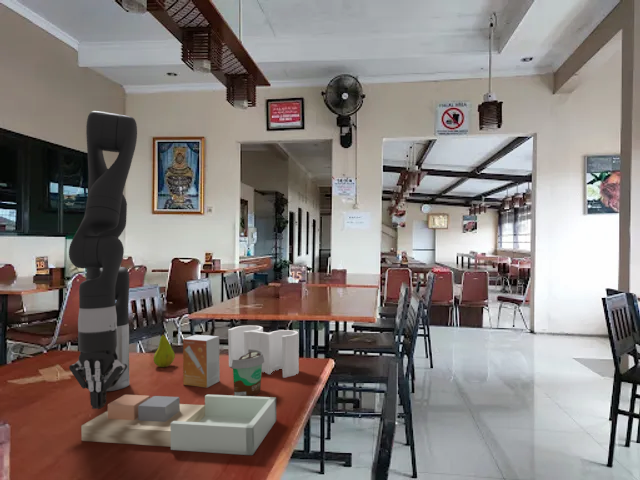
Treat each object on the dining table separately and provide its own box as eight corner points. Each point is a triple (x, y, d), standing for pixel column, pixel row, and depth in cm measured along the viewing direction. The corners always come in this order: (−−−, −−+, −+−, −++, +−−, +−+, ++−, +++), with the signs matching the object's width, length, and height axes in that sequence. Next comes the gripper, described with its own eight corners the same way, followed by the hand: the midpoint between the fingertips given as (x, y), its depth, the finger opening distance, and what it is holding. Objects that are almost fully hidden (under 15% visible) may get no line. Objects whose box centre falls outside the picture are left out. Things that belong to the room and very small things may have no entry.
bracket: (305, 371, 135) (305, 331, 135) (285, 379, 127) (284, 337, 127) (247, 359, 150) (246, 324, 150) (225, 366, 142) (225, 329, 142)
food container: (255, 401, 109) (254, 361, 109) (232, 400, 110) (231, 360, 110) (270, 386, 121) (270, 349, 121) (249, 385, 122) (249, 348, 122)
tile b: (138, 420, 91) (138, 405, 91) (154, 409, 97) (154, 395, 97) (165, 421, 90) (165, 407, 90) (179, 410, 95) (179, 397, 96)
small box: (182, 385, 123) (182, 338, 123) (196, 378, 129) (196, 334, 129) (207, 388, 120) (206, 340, 120) (220, 381, 126) (219, 335, 126)
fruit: (169, 362, 147) (169, 327, 147) (177, 366, 142) (177, 329, 143) (150, 366, 143) (150, 329, 143) (158, 370, 138) (157, 332, 138)
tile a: (107, 418, 92) (107, 404, 92) (125, 408, 98) (125, 394, 98) (134, 420, 91) (133, 405, 91) (150, 409, 97) (149, 395, 97)
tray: (170, 449, 84) (170, 423, 84) (207, 416, 100) (207, 394, 100) (252, 455, 81) (252, 428, 81) (276, 420, 97) (276, 397, 97)
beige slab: (81, 440, 88) (81, 425, 88) (124, 414, 102) (124, 401, 102) (174, 446, 85) (173, 431, 85) (205, 418, 99) (204, 405, 99)
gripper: (57, 330, 93) (58, 412, 93) (114, 331, 91) (115, 415, 91) (83, 324, 101) (83, 400, 100) (135, 325, 98) (136, 403, 98)
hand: (98, 407), depth 95 cm, fingers closed
